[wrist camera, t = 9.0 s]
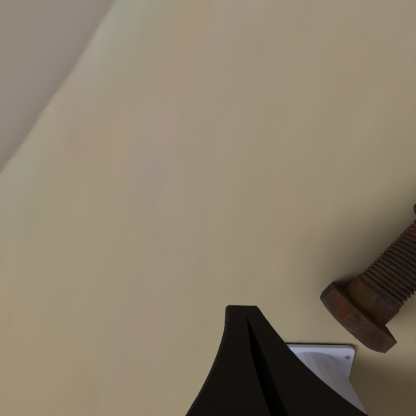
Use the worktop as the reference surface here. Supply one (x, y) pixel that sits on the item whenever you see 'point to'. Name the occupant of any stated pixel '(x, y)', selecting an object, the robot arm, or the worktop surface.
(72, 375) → the worktop surface
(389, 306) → the bolt
